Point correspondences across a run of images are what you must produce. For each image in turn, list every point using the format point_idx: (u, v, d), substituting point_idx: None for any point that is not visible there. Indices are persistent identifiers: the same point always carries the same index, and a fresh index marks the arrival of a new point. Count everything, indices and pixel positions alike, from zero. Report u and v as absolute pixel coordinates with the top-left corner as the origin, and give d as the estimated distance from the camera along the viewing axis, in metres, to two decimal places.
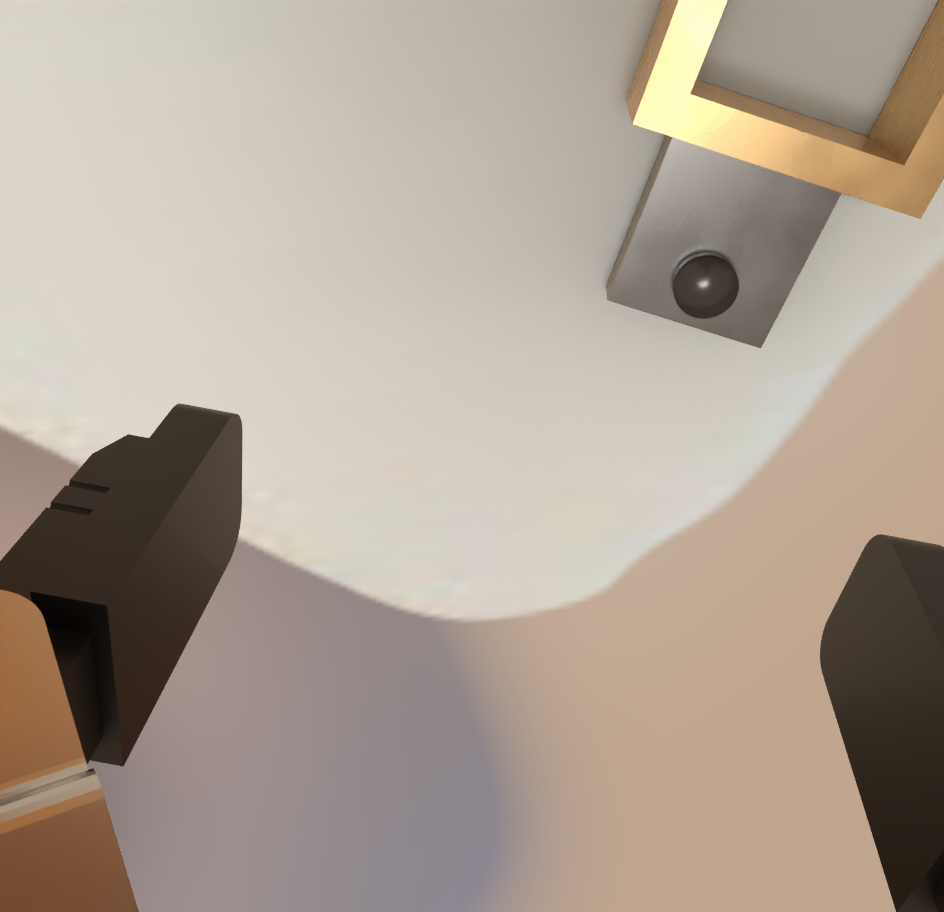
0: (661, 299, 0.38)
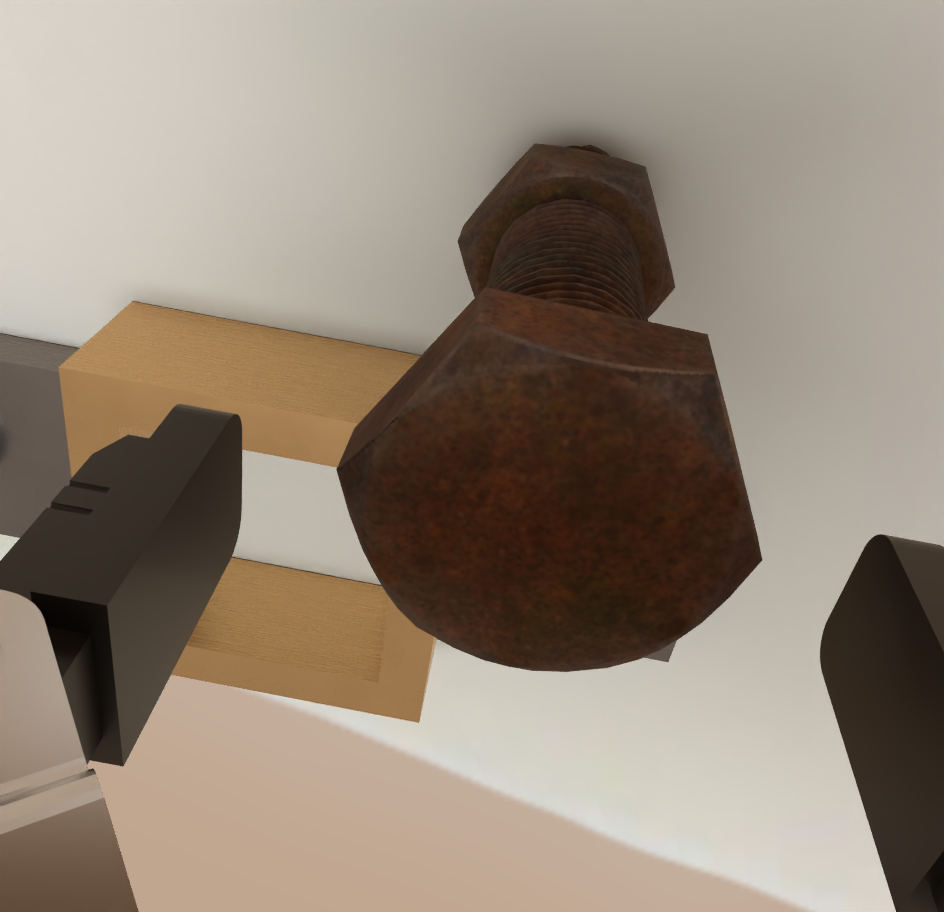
0: None
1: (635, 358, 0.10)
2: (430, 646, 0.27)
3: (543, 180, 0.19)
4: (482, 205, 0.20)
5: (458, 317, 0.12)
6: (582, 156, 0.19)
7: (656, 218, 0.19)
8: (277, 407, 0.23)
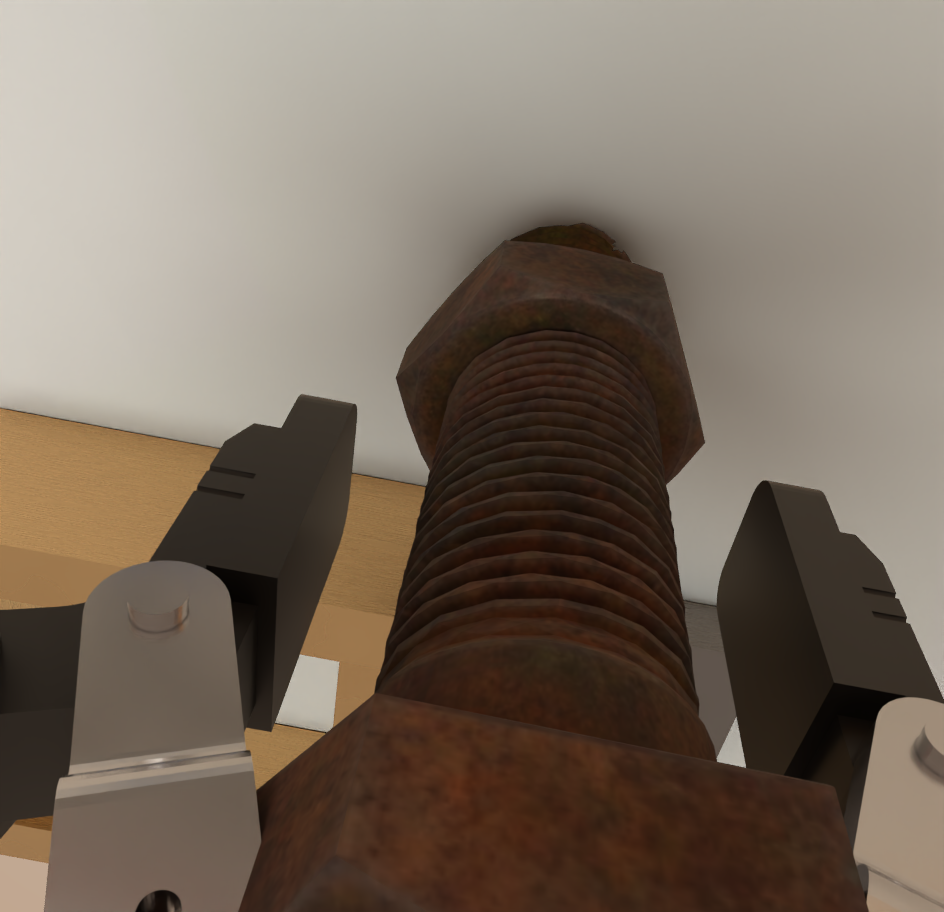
0: None
1: None
2: None
3: (515, 303, 0.13)
4: (431, 323, 0.14)
5: (325, 739, 0.06)
6: (572, 260, 0.13)
7: (680, 355, 0.13)
8: None
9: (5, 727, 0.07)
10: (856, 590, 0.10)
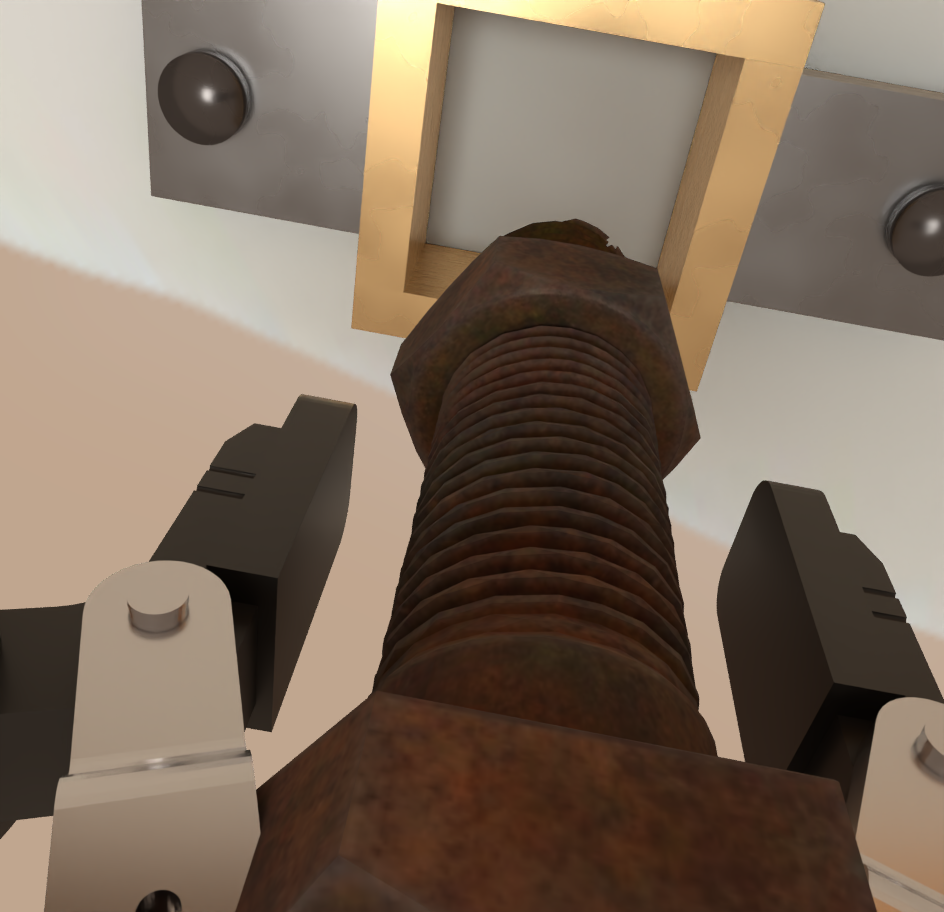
0: (167, 40, 0.27)
1: None
2: (729, 286, 0.26)
3: (511, 298, 0.13)
4: (426, 320, 0.14)
5: (325, 738, 0.06)
6: (567, 256, 0.13)
7: (676, 350, 0.13)
8: None
9: (5, 727, 0.07)
10: (856, 590, 0.10)
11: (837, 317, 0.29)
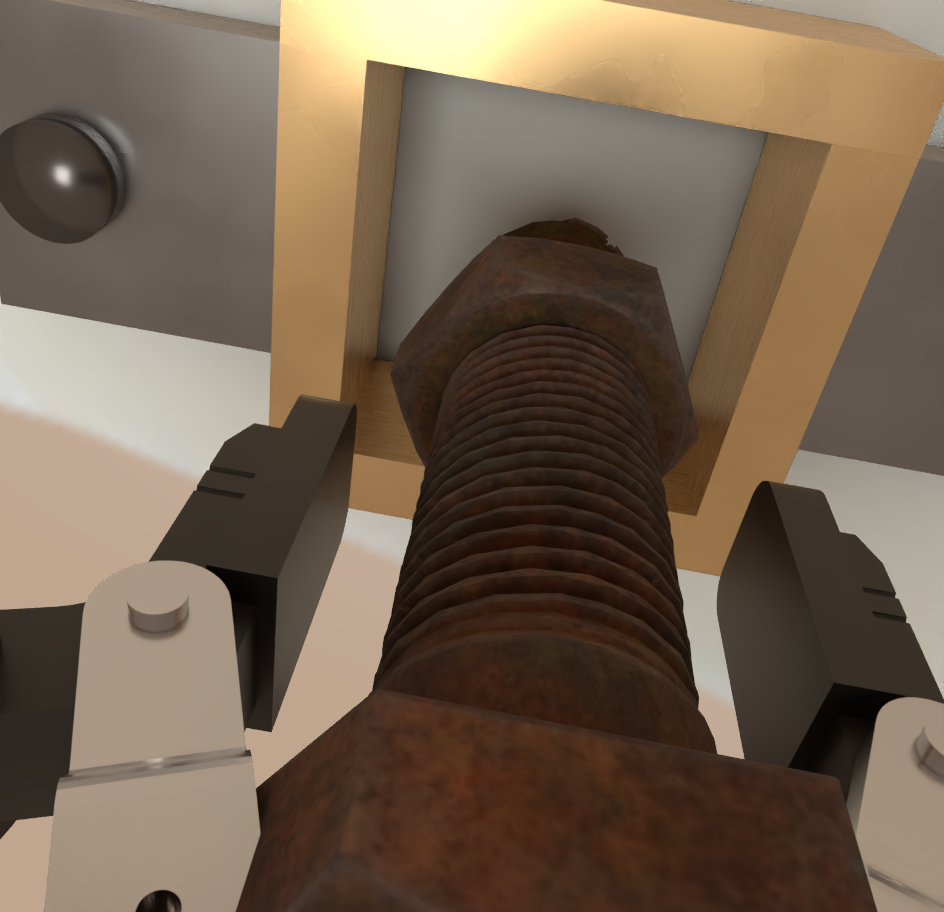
0: (3, 100, 0.19)
1: None
2: (793, 451, 0.18)
3: (510, 298, 0.13)
4: (425, 319, 0.14)
5: (326, 735, 0.06)
6: (566, 255, 0.13)
7: (675, 349, 0.13)
8: (643, 7, 0.14)
9: (5, 727, 0.07)
10: (856, 590, 0.10)
11: (930, 468, 0.21)
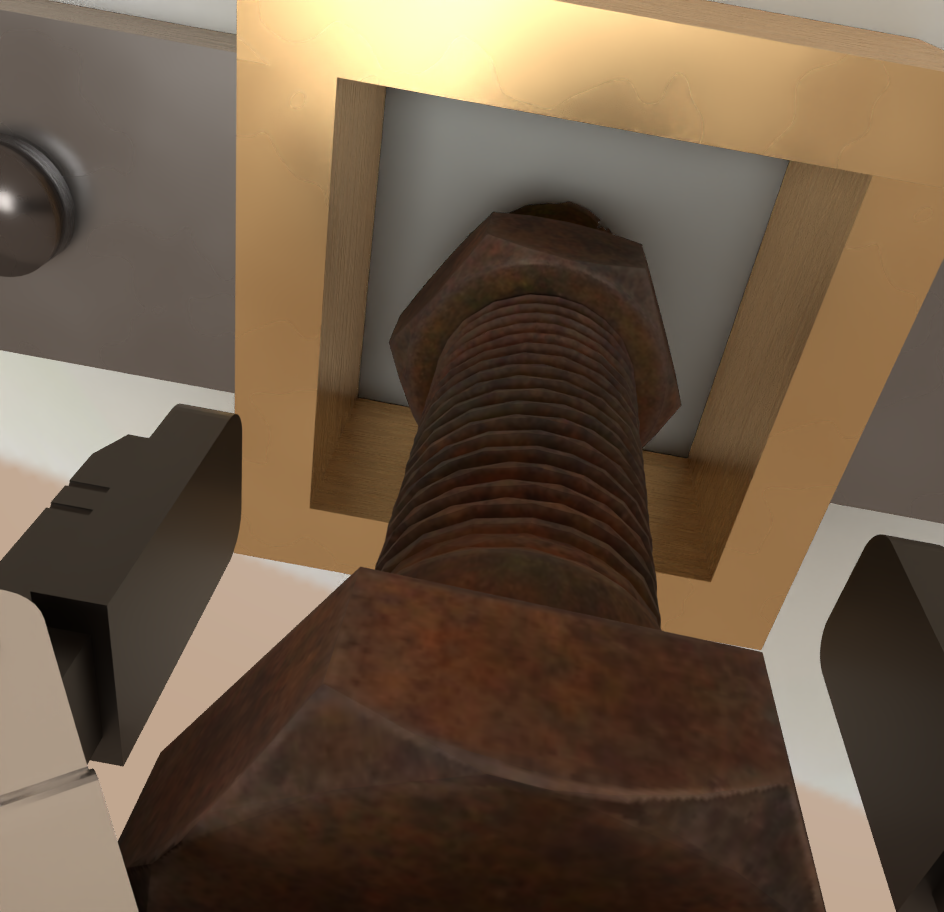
0: None
1: (633, 759, 0.05)
2: (820, 514, 0.16)
3: (501, 268, 0.13)
4: (423, 292, 0.15)
5: (315, 611, 0.06)
6: (556, 231, 0.14)
7: (657, 319, 0.14)
8: (656, 18, 0.12)
9: None
10: None
11: None
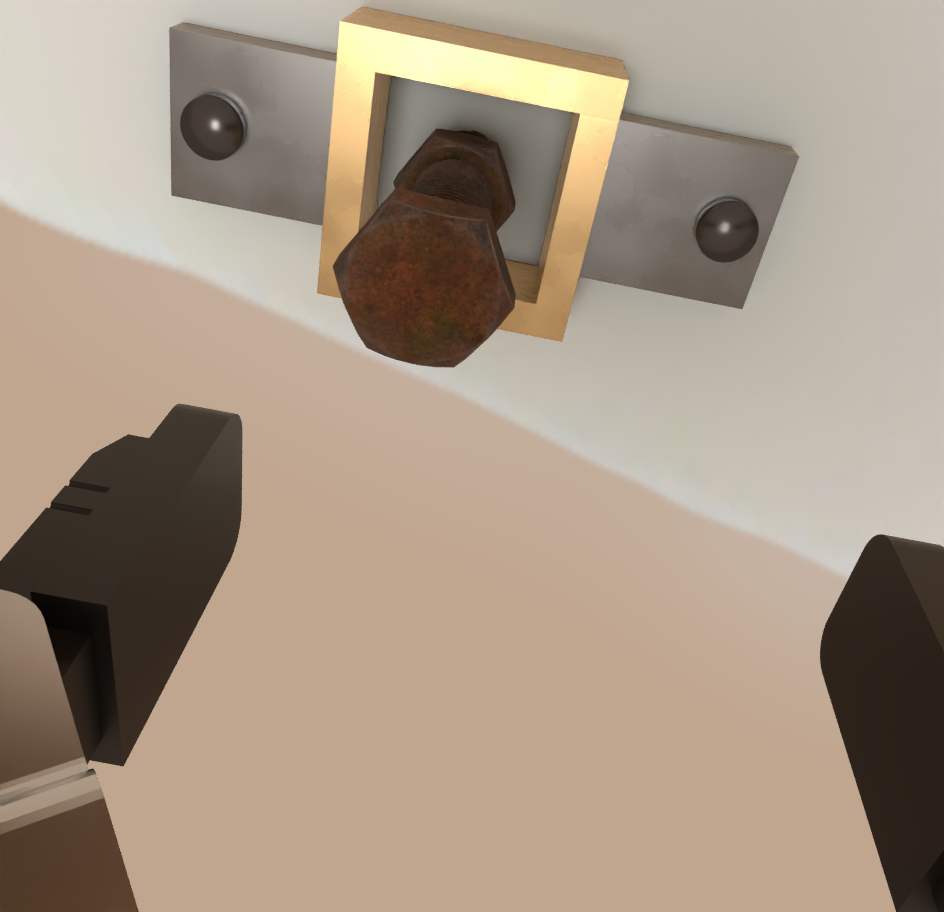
0: (187, 86, 0.38)
1: (453, 214, 0.26)
2: (579, 267, 0.37)
3: (439, 148, 0.34)
4: (407, 163, 0.36)
5: (385, 201, 0.27)
6: (462, 136, 0.35)
7: (500, 170, 0.35)
8: (495, 52, 0.33)
9: None
10: None
11: (665, 291, 0.41)
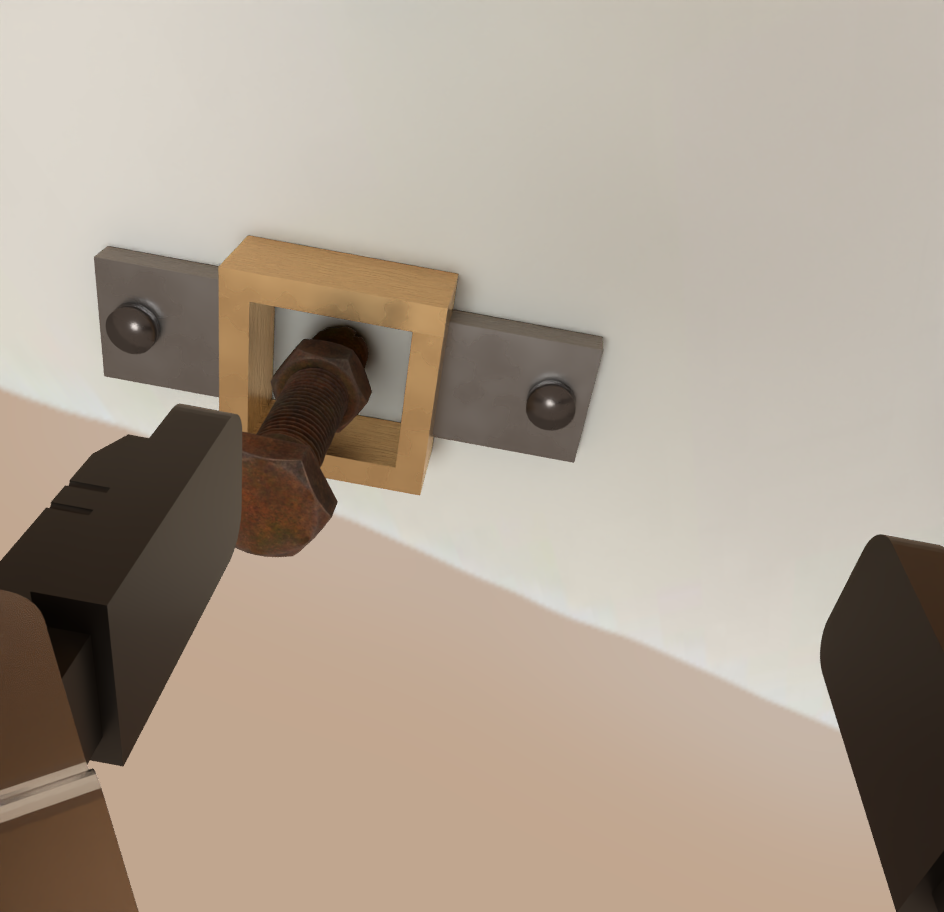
0: (111, 297, 0.47)
1: (276, 456, 0.35)
2: (426, 440, 0.46)
3: (301, 359, 0.43)
4: (282, 364, 0.45)
5: None
6: (323, 345, 0.44)
7: (352, 375, 0.43)
8: (341, 288, 0.42)
9: None
10: None
11: (510, 449, 0.49)
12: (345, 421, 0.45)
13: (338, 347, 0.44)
